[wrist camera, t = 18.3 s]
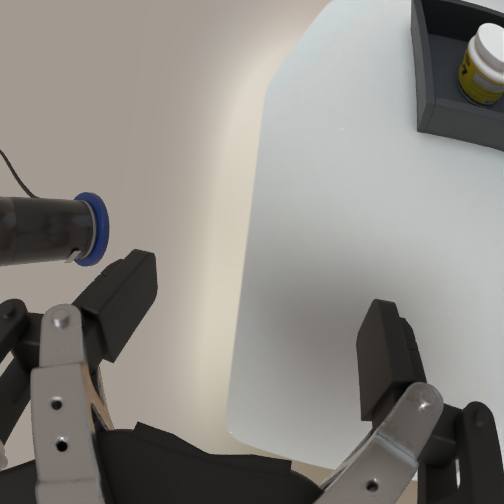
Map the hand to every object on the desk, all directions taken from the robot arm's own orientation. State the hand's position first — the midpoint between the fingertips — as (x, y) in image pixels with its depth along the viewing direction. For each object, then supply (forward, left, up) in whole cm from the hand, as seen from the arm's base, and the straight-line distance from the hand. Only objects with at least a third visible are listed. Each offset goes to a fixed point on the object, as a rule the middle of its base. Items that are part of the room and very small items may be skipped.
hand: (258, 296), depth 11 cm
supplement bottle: (+9, +21, -17) cm, 28 cm away
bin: (+8, +21, -18) cm, 29 cm away
